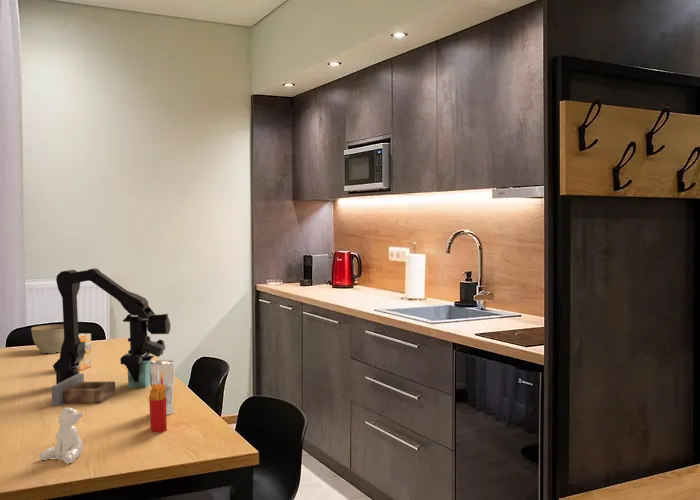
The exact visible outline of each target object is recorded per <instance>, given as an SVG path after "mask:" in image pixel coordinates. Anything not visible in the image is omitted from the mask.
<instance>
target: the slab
mask: <svg viewBox="0 0 700 500" xmlns="http://www.w3.org/2000/svg"><path fill="white" fill-rule="evenodd" d="M84 375H85V374H84V373H79V374H76V375H74V376H72V377H70V378H68V379H66V380H64V381H62V382H60V383H58V384H54V385H52V386H51V407H60V406H62V405H63V404H65V403H64V390H66V389H67V388H69V387H71V386H73V385H75V384H77V383H79V382H85V376H84Z"/></svg>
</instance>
